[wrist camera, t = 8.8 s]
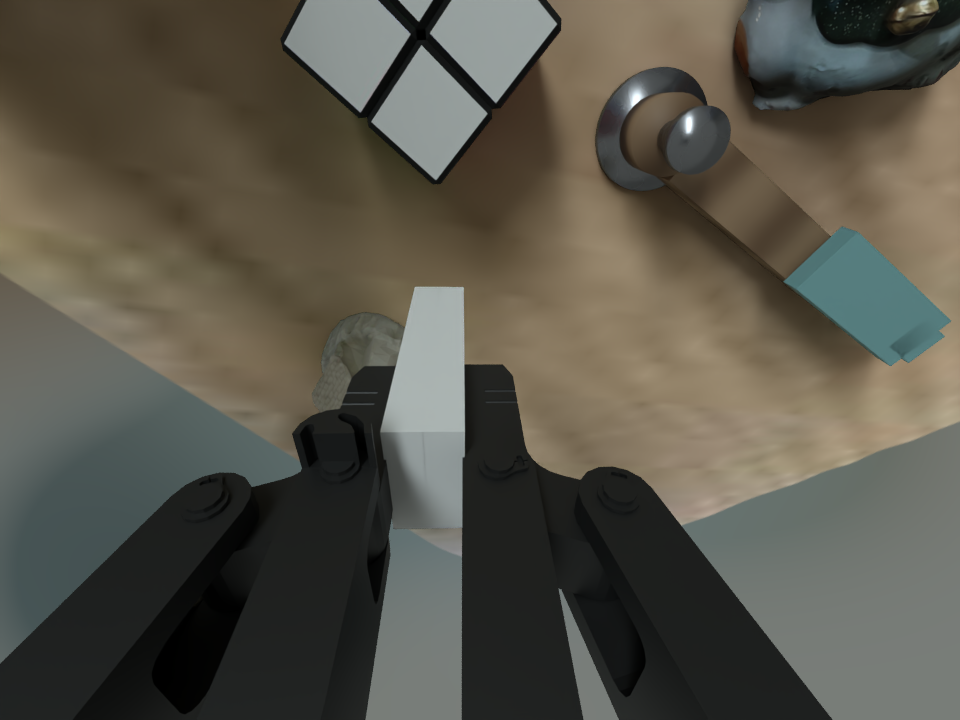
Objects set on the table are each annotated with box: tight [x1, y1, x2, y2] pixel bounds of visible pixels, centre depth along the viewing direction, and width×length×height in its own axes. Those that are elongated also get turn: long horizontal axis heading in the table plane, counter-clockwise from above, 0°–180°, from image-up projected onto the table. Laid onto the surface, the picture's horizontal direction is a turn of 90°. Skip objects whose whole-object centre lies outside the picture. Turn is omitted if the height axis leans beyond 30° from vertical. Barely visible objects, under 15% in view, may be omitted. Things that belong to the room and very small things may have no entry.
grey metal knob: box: [595, 67, 731, 191], centre depth 28 cm, size 8×8×8 cm
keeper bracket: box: [783, 227, 951, 366], centre depth 35 cm, size 14×5×6 cm, turn 57°
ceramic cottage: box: [312, 312, 405, 413], centre depth 38 cm, size 16×16×15 cm
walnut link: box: [619, 92, 831, 296], centre depth 32 cm, size 24×5×3 cm, turn 57°
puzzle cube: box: [281, 0, 561, 184], centre depth 24 cm, size 10×10×10 cm
